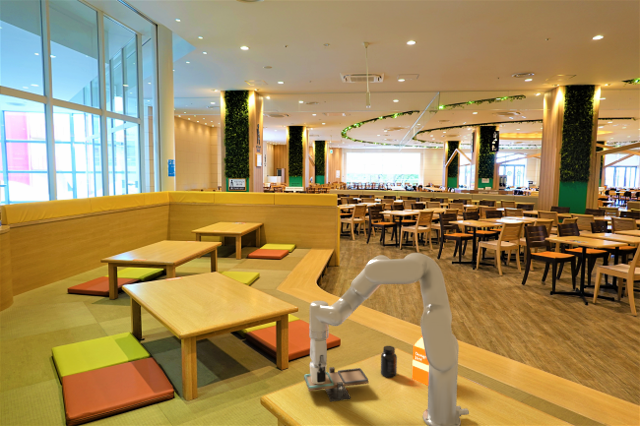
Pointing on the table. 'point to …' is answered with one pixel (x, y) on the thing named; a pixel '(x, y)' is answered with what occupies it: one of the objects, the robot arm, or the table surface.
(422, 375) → the orange juice
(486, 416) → the table surface
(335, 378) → the balance beam board
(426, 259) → the robot arm
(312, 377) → the cup of milk
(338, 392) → the pivot stand
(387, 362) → the supplement bottle
